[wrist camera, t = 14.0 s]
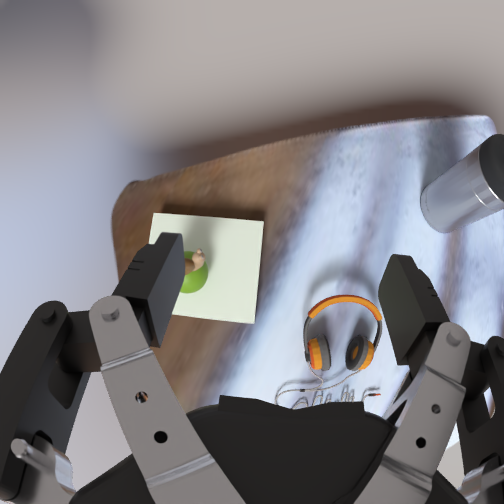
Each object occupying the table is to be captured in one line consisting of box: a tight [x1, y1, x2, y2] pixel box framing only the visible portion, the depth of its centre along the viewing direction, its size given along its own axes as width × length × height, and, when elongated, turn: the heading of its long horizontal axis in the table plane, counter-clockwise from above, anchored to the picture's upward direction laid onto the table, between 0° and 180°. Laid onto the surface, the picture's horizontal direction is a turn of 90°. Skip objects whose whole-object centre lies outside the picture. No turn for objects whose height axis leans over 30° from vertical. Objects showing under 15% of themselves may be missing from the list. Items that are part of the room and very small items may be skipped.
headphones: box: [275, 295, 382, 409], centre depth 40 cm, size 16×5×20 cm
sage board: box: [149, 213, 264, 324], centre depth 43 cm, size 16×14×3 cm
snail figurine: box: [180, 248, 208, 294], centre depth 35 cm, size 5×6×12 cm
